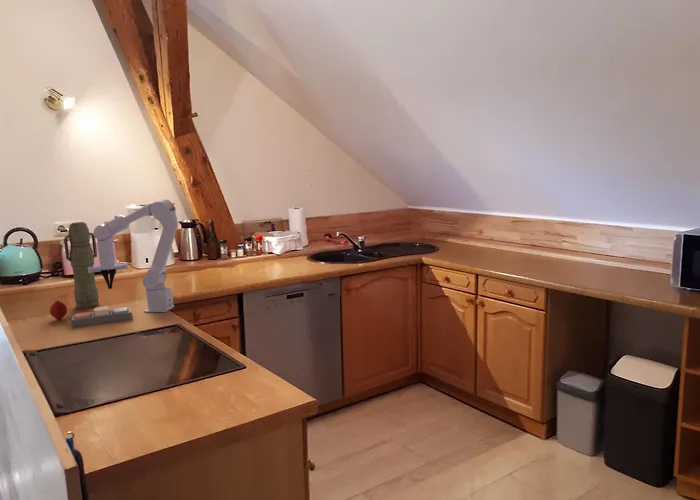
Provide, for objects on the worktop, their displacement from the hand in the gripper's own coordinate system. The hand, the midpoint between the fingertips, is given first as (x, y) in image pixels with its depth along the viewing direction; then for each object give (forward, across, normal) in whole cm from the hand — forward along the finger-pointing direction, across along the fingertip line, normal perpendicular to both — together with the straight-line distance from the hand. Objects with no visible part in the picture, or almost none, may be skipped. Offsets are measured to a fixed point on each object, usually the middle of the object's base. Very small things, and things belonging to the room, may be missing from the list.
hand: (110, 288), depth 229 cm
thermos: (+10, -10, +15) cm, 20 cm away
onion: (+10, -19, -3) cm, 21 cm away
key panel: (+9, -4, -14) cm, 17 cm away
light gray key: (+8, +3, -14) cm, 17 cm away
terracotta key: (+8, -10, -14) cm, 19 cm away
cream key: (+7, -4, -14) cm, 16 cm away
